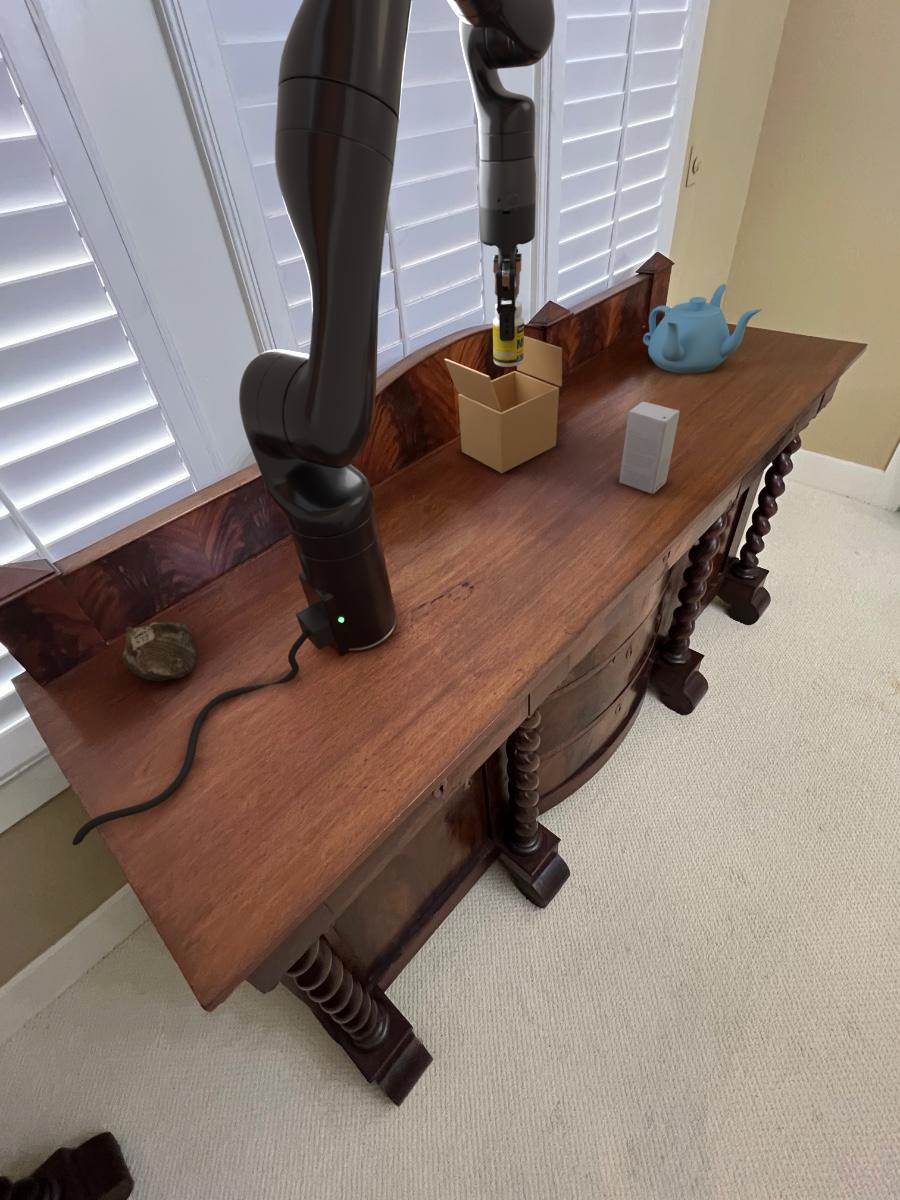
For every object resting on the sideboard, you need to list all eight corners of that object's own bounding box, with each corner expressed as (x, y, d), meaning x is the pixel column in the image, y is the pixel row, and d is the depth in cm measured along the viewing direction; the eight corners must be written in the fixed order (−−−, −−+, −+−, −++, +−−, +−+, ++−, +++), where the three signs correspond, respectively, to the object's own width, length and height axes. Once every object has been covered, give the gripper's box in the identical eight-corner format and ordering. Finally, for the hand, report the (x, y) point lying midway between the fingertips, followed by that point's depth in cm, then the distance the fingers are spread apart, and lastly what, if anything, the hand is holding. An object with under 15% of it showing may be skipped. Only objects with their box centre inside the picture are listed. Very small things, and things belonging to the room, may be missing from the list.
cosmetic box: (666, 483, 91) (681, 410, 83) (652, 495, 89) (666, 422, 81) (631, 471, 94) (643, 399, 86) (617, 482, 92) (627, 410, 84)
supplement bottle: (521, 367, 90) (522, 309, 84) (491, 367, 91) (489, 309, 85) (525, 355, 93) (526, 299, 87) (495, 355, 94) (494, 299, 88)
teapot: (748, 372, 117) (766, 307, 109) (657, 383, 117) (669, 318, 108) (711, 342, 130) (725, 281, 121) (629, 351, 129) (637, 291, 121)
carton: (501, 473, 96) (500, 373, 85) (461, 451, 103) (455, 356, 91) (558, 444, 102) (564, 347, 91) (517, 425, 108) (518, 332, 97)
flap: (501, 409, 89) (499, 411, 89) (458, 390, 95) (457, 391, 95) (489, 376, 84) (488, 377, 84) (445, 358, 90) (444, 359, 90)
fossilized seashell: (118, 631, 72) (119, 699, 66) (127, 595, 68) (129, 664, 62) (184, 634, 76) (190, 698, 70) (196, 600, 72) (203, 665, 67)
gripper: (482, 192, 83) (486, 318, 95) (474, 213, 73) (479, 352, 84) (535, 188, 82) (532, 316, 94) (535, 209, 72) (532, 350, 83)
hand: (507, 332), depth 89 cm, fingers closed on supplement bottle, 4 cm apart
